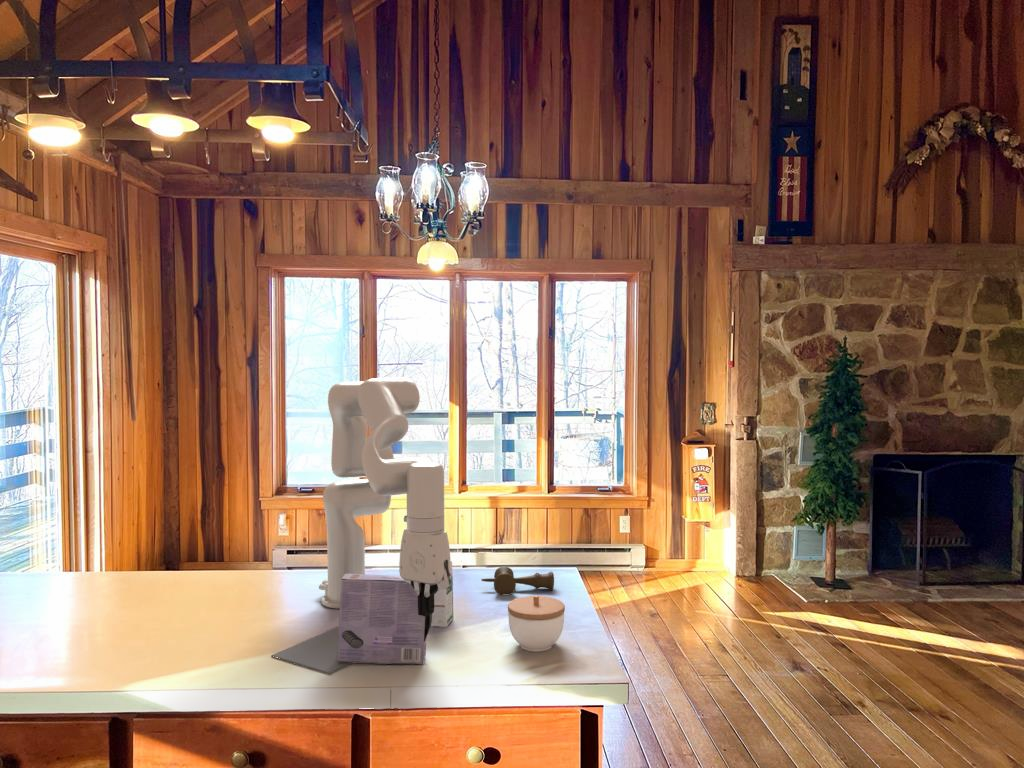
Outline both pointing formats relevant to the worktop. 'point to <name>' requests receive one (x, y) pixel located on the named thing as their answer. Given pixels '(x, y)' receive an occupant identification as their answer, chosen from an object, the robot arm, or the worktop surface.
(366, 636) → the cake pan box
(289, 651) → the rubber mat
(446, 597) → the syrup box
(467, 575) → the worktop surface
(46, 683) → the worktop surface
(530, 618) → the lidded bowl
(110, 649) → the worktop surface
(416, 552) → the robot arm
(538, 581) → the kendama
